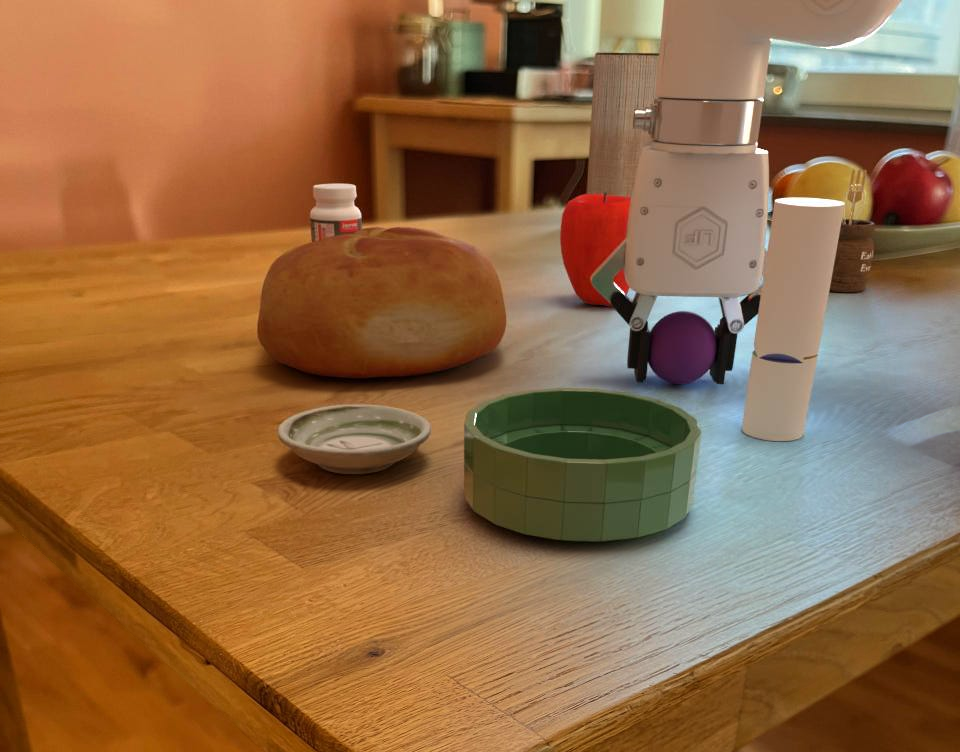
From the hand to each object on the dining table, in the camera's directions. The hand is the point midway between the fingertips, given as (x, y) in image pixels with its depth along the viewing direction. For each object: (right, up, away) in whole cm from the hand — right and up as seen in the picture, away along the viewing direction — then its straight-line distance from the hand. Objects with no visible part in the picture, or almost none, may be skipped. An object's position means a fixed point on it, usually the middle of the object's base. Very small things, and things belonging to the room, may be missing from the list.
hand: (678, 376), depth 82 cm
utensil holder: (+25, +19, +34) cm, 46 cm away
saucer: (-24, -10, -16) cm, 30 cm away
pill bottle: (-32, +20, +34) cm, 51 cm away
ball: (0, +2, -1) cm, 2 cm away
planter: (+5, +43, +75) cm, 87 cm away
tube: (+5, -7, -10) cm, 13 cm away
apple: (-4, +14, +26) cm, 29 cm away
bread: (-25, +4, +7) cm, 26 cm away
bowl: (-10, -13, -22) cm, 28 cm away
